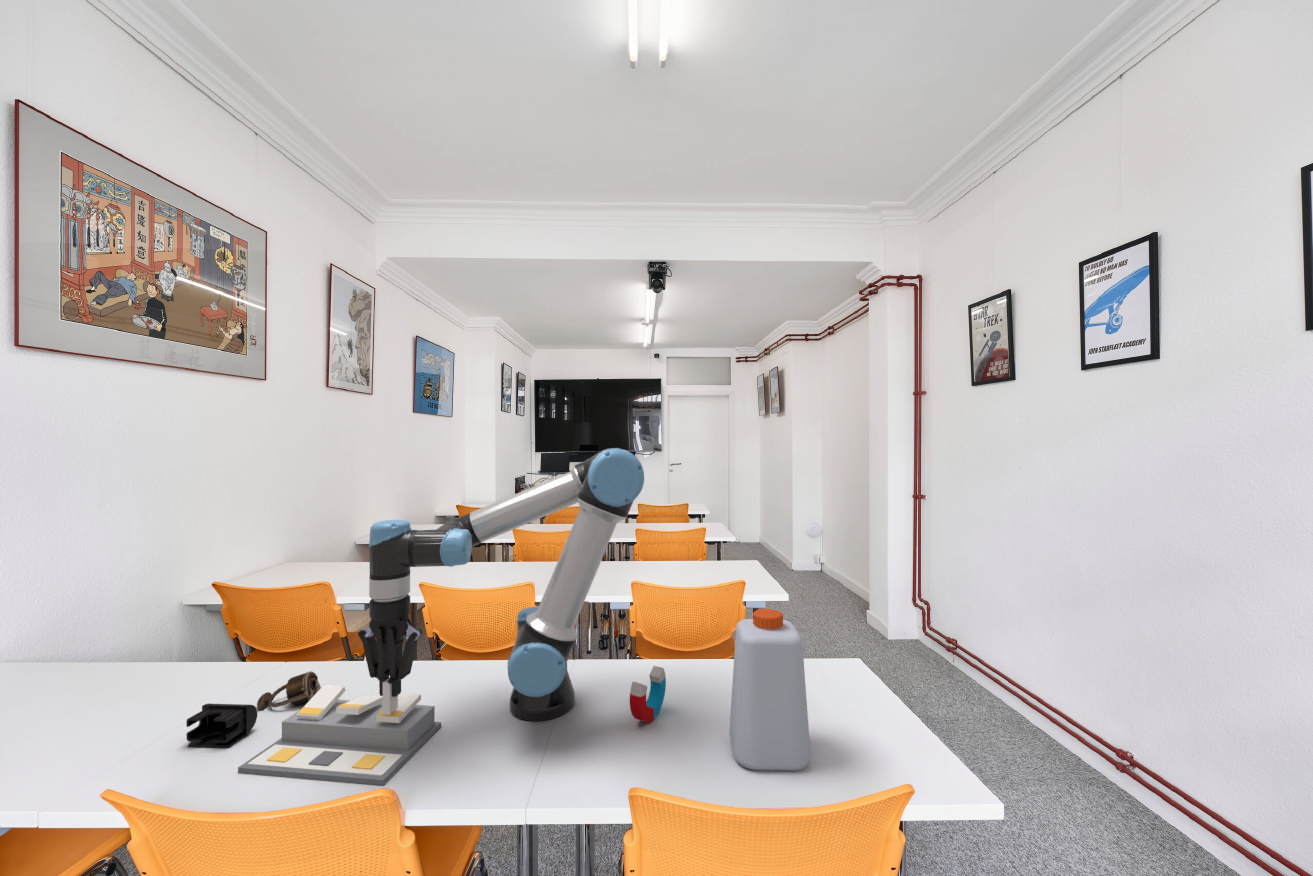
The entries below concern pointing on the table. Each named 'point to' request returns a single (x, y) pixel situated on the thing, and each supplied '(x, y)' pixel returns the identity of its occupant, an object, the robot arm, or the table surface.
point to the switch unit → (345, 746)
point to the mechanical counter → (293, 691)
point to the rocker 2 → (400, 708)
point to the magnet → (656, 696)
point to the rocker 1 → (321, 702)
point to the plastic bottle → (769, 695)
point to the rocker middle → (359, 705)
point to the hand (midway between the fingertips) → (390, 711)
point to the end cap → (221, 725)
